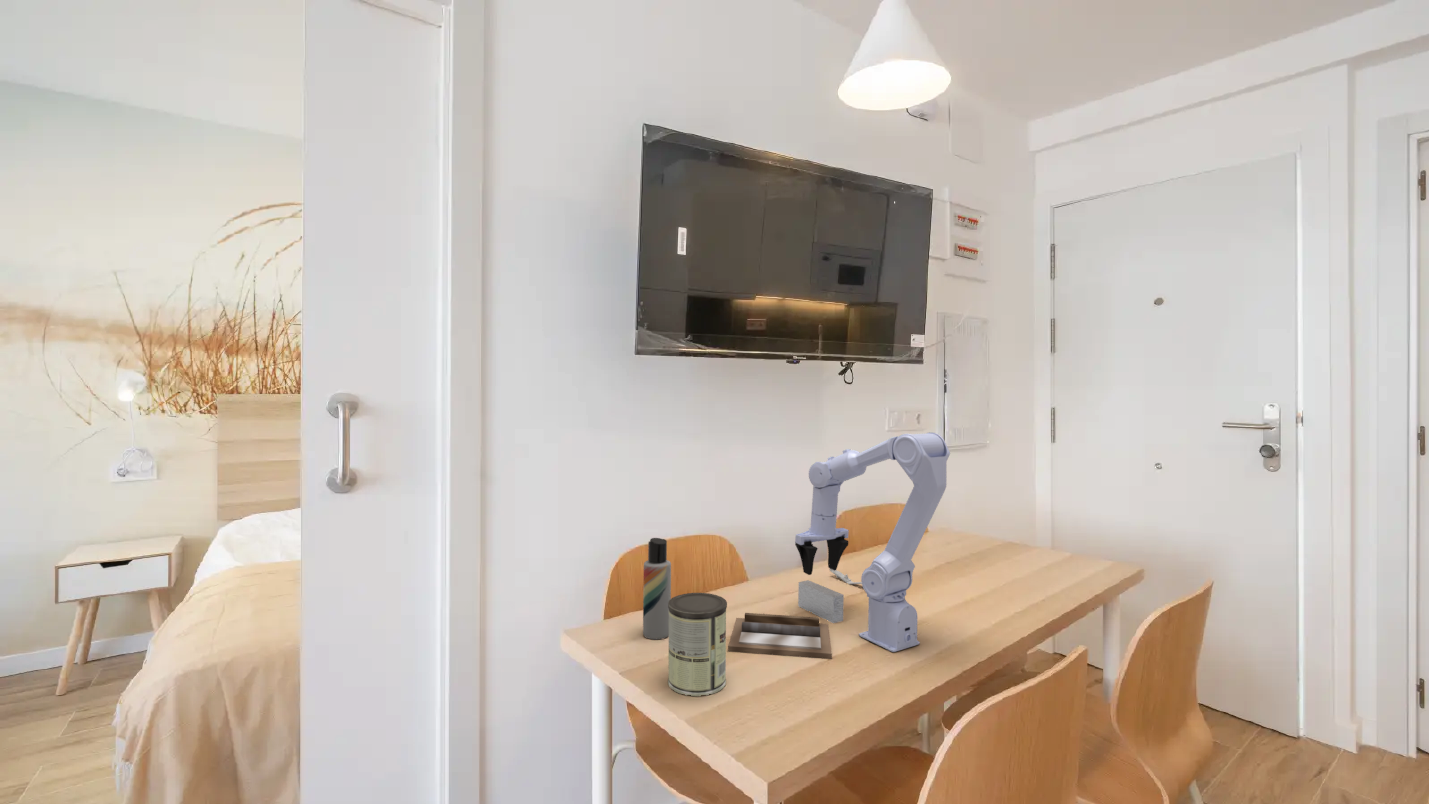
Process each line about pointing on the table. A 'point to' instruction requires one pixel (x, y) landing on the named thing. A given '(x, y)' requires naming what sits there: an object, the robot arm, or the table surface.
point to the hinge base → (781, 636)
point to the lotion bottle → (656, 590)
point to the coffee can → (697, 643)
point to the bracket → (843, 577)
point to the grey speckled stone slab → (821, 601)
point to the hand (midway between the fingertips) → (820, 571)
